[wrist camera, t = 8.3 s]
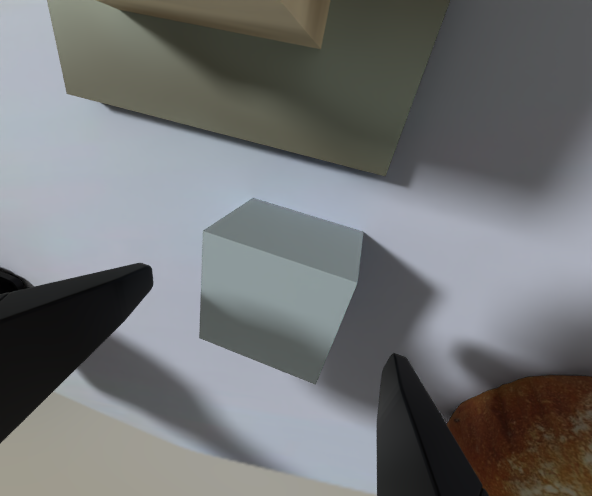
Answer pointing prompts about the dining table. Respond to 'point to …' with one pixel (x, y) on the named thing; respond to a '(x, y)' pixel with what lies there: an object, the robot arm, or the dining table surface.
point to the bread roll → (530, 436)
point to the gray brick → (277, 285)
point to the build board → (258, 67)
